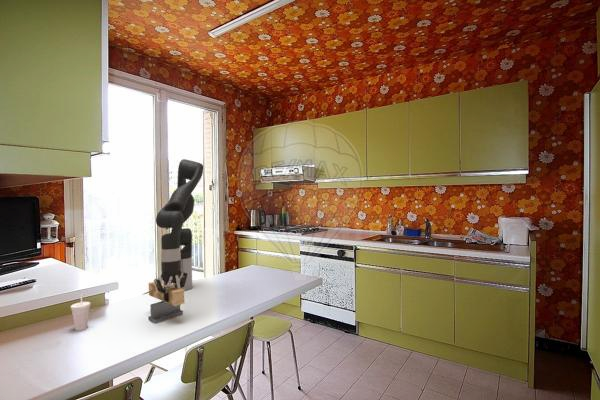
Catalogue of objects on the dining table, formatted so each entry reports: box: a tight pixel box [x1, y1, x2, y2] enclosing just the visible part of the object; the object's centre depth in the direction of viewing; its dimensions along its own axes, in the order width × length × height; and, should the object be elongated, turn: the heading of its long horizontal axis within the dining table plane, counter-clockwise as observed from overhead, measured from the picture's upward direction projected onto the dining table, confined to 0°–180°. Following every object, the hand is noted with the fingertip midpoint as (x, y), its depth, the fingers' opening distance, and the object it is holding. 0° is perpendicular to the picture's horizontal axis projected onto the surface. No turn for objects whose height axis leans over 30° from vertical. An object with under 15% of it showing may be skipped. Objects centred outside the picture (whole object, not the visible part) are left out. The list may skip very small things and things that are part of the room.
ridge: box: [147, 300, 184, 325], centre depth 130 cm, size 6×12×7 cm, turn 142°
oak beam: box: [148, 281, 185, 306], centre depth 130 cm, size 22×4×6 cm, turn 52°
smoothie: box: [70, 293, 91, 332], centre depth 120 cm, size 6×6×14 cm
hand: (171, 299), depth 127 cm, fingers closed on oak beam, 4 cm apart
